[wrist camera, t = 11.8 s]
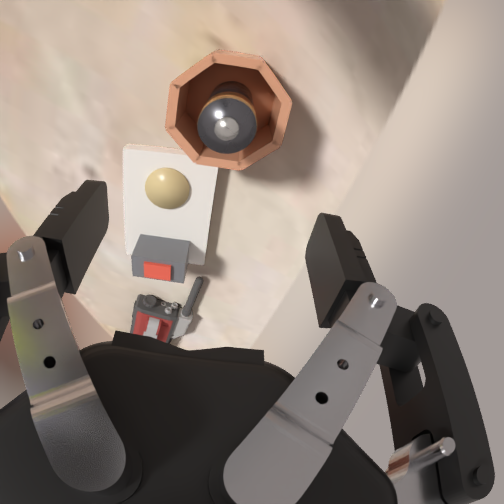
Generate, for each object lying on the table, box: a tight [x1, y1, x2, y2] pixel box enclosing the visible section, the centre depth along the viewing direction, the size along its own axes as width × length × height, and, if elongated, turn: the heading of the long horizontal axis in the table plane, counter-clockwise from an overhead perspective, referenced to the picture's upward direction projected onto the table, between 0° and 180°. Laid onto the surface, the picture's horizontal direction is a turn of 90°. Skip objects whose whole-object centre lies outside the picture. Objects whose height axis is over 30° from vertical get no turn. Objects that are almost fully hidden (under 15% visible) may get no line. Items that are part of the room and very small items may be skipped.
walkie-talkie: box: [130, 277, 203, 344], centre depth 45 cm, size 9×4×20 cm
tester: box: [123, 144, 218, 283], centre depth 33 cm, size 14×10×6 cm
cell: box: [197, 81, 257, 154], centre depth 23 cm, size 4×4×10 cm
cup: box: [165, 50, 292, 171], centre depth 26 cm, size 10×10×6 cm
